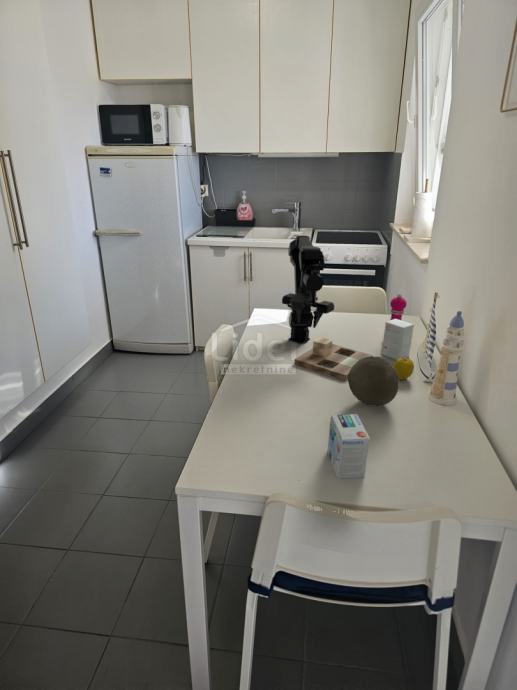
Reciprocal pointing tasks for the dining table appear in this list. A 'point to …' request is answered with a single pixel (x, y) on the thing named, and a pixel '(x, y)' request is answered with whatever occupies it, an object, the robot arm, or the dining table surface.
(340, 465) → the light bulb box
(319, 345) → the maple block
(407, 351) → the small box
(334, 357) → the trap board
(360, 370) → the cantaloupe
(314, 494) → the dining table surface
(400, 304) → the pepper mill
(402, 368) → the apple
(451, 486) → the dining table surface
